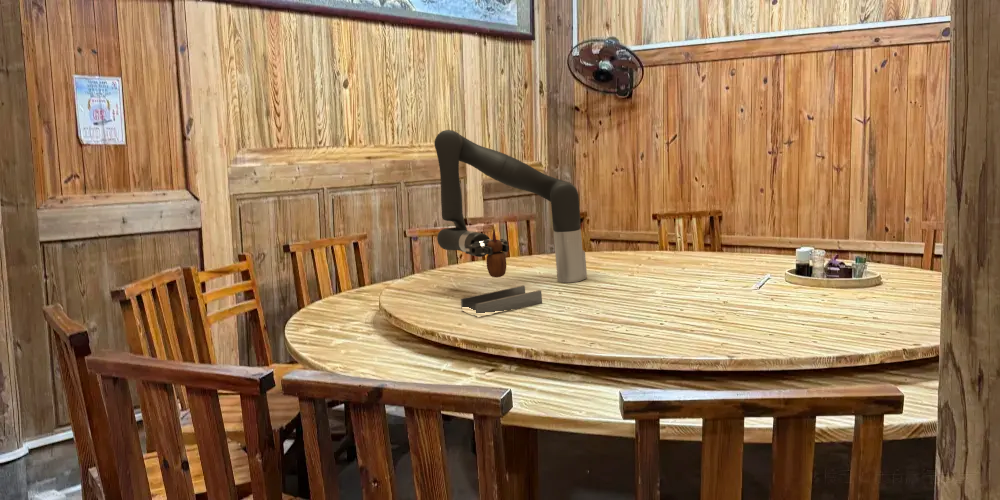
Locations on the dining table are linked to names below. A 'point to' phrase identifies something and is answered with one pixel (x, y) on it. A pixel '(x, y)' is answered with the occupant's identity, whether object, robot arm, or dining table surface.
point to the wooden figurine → (496, 258)
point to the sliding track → (502, 300)
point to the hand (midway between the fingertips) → (499, 249)
